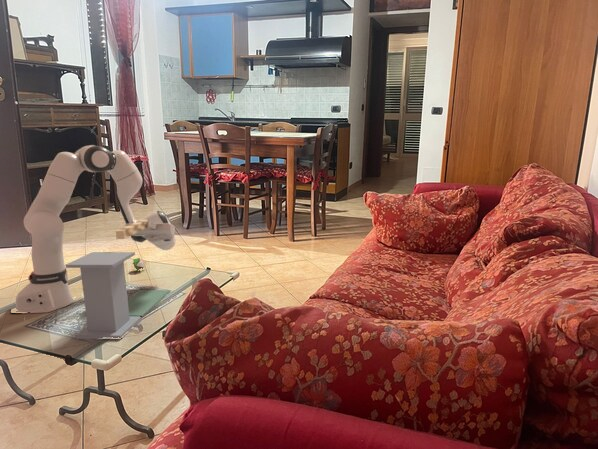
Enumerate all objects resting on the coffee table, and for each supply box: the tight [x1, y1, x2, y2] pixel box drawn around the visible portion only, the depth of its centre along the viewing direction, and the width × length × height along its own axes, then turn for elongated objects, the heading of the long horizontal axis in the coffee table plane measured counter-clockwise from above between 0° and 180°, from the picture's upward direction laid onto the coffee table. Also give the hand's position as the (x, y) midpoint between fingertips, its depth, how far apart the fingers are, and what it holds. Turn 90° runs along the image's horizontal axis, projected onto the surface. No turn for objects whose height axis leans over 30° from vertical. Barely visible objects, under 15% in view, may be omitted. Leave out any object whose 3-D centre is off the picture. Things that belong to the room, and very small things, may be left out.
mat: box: [127, 289, 171, 317], centre depth 181 cm, size 28×14×1 cm, turn 175°
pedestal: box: [65, 251, 143, 340], centre depth 155 cm, size 16×16×26 cm
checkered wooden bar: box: [115, 220, 149, 240], centre depth 175 cm, size 22×3×3 cm, turn 175°
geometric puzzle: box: [130, 257, 147, 272], centre depth 226 cm, size 7×7×8 cm
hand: (142, 223), depth 183 cm, fingers closed on checkered wooden bar, 3 cm apart
